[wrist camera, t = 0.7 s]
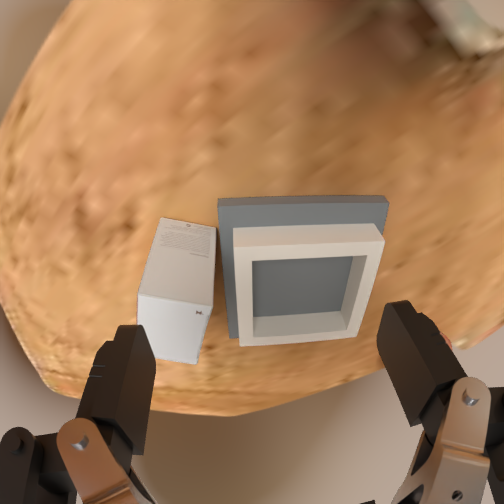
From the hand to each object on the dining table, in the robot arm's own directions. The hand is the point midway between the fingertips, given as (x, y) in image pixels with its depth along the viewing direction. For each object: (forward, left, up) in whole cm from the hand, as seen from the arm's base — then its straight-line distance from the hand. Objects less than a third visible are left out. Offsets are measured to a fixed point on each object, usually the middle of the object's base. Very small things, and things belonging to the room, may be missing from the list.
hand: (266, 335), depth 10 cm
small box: (+11, -6, -20) cm, 24 cm away
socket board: (+14, +6, -20) cm, 25 cm away
